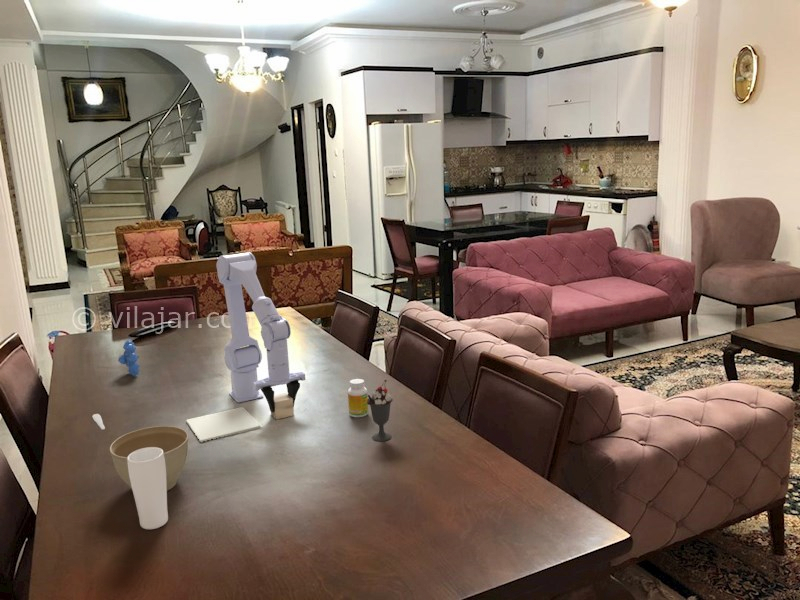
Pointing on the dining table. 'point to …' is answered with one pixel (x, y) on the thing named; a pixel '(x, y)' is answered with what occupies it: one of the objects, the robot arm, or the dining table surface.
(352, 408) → the supplement bottle
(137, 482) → the drinking glass
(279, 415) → the cube
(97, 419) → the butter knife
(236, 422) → the pad
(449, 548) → the dining table surface
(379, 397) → the sundae
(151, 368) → the dining table surface
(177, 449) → the planter bowl
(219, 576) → the dining table surface
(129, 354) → the grapes
